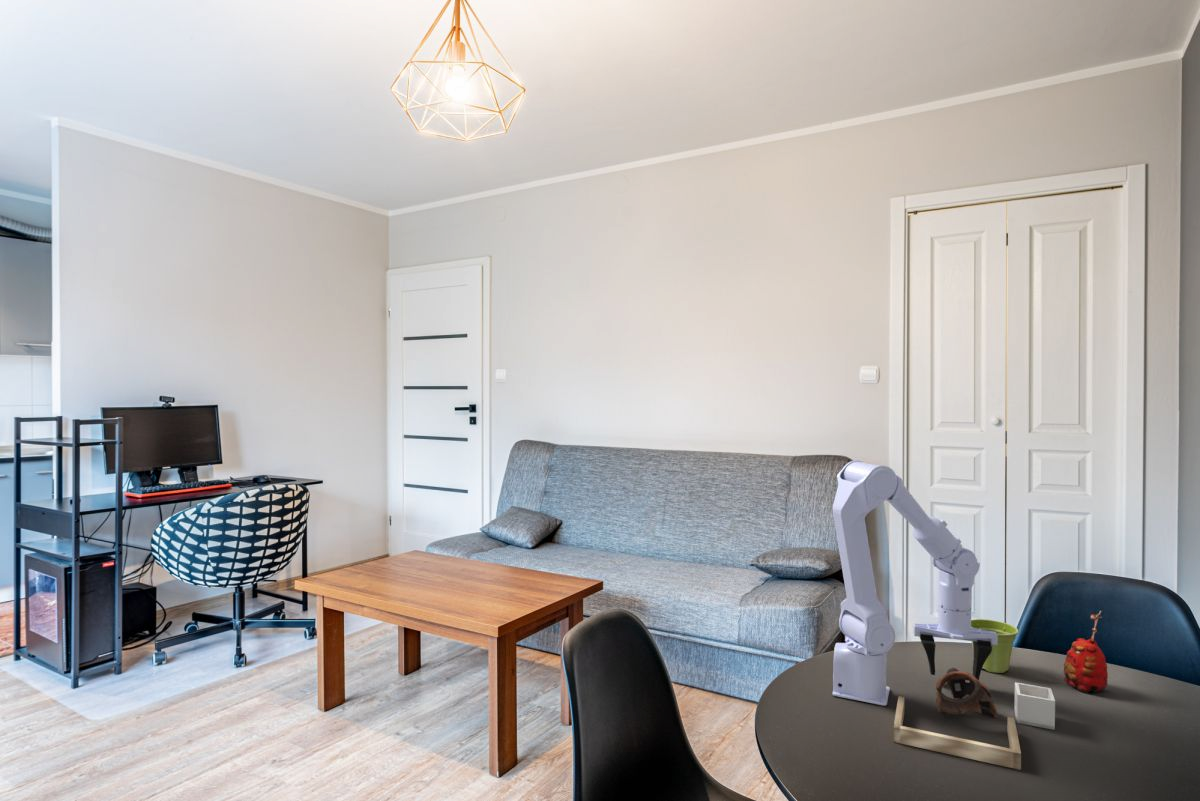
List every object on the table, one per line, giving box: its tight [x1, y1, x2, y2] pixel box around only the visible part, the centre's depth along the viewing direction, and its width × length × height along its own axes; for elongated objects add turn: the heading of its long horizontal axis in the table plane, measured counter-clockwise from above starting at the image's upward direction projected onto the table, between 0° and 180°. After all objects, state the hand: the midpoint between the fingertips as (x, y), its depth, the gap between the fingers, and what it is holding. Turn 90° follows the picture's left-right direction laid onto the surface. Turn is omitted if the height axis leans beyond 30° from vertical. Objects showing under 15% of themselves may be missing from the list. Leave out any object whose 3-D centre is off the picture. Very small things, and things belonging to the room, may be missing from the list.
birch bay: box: [892, 695, 1022, 771], centre depth 114 cm, size 18×12×2 cm
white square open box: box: [1013, 682, 1056, 731], centre depth 120 cm, size 6×6×5 cm
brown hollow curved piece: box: [935, 667, 998, 719], centre depth 124 cm, size 12×10×8 cm
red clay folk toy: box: [1063, 610, 1109, 693], centre depth 133 cm, size 8×7×15 cm
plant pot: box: [971, 618, 1019, 674], centre depth 142 cm, size 9×9×9 cm
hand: (953, 675), depth 134 cm, fingers open, 7 cm apart
